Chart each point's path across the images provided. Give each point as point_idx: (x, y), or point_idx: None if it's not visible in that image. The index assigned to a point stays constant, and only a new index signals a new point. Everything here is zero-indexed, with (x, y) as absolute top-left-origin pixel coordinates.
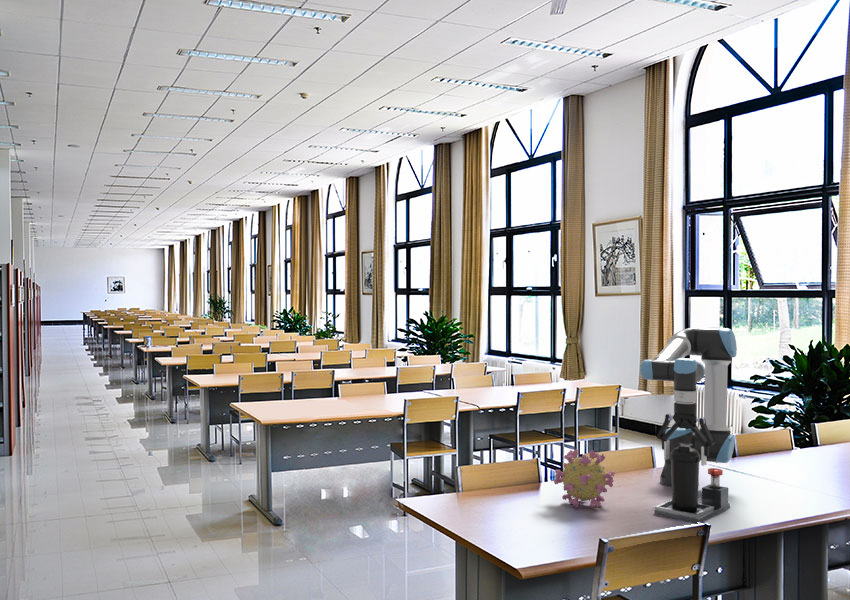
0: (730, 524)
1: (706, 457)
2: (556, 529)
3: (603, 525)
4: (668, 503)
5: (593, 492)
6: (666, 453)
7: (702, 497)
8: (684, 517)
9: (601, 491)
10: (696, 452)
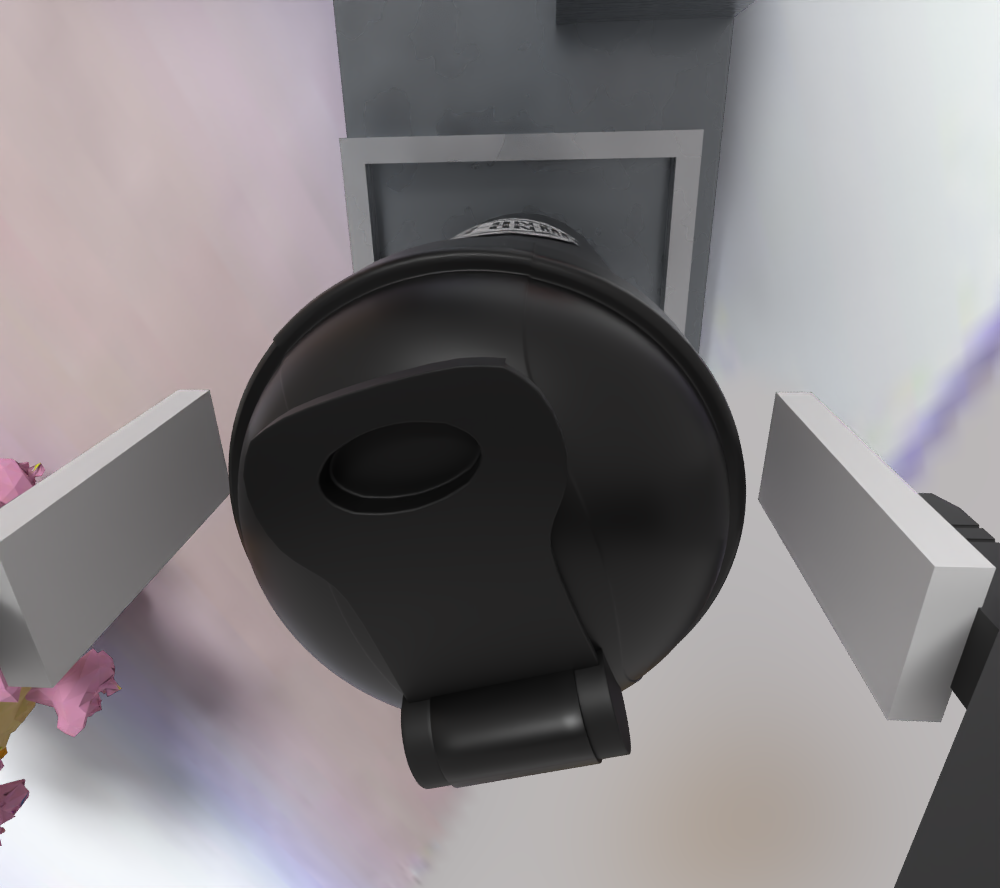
0: (866, 327)
1: (859, 441)
2: (239, 885)
3: (325, 758)
4: None
5: None
6: (184, 531)
7: (564, 11)
8: None
9: None
10: (711, 567)
